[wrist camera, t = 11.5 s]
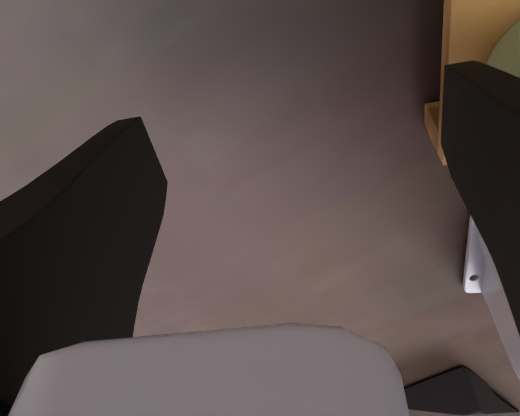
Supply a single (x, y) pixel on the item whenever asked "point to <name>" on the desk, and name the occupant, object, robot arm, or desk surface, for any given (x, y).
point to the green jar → (507, 52)
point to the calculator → (455, 395)
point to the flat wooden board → (468, 44)
